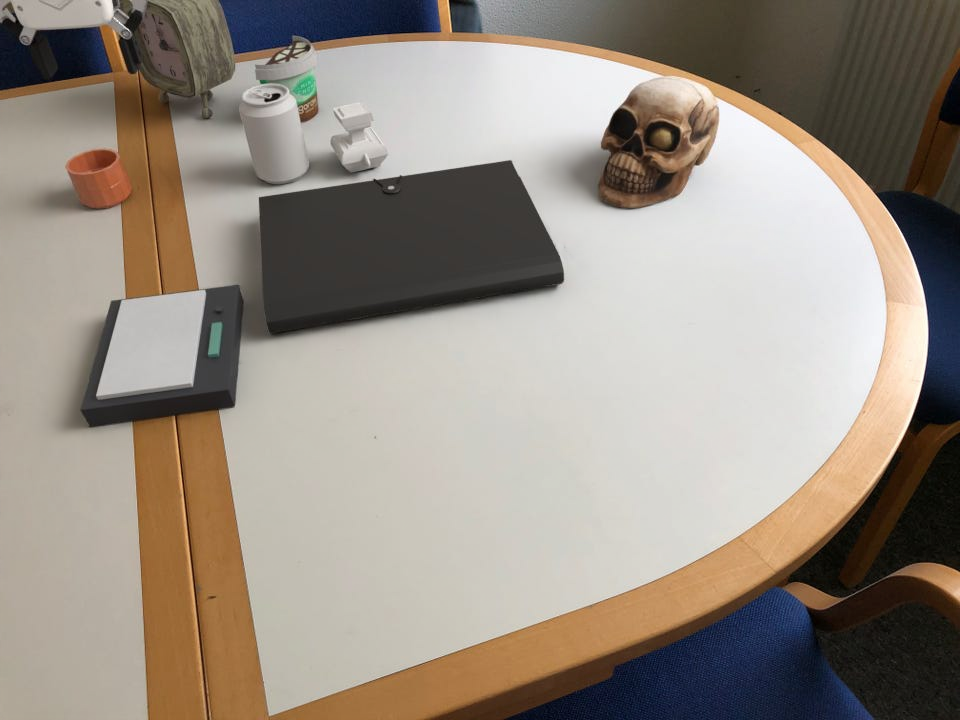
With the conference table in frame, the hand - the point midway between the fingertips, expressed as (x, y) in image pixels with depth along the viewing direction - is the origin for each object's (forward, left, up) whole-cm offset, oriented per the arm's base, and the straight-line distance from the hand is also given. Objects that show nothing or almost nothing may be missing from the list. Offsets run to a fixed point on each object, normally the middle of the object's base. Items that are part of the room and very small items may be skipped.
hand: (93, 71), depth 93 cm
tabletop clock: (+4, +32, -19) cm, 37 cm away
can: (+18, +6, -19) cm, 27 cm away
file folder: (+33, -17, -19) cm, 42 cm away
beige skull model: (+68, -6, -19) cm, 71 cm away
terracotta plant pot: (-6, +5, -19) cm, 20 cm away
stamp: (+29, +6, -19) cm, 35 cm away
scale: (+7, -31, -19) cm, 37 cm away
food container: (+21, +24, -19) cm, 37 cm away
